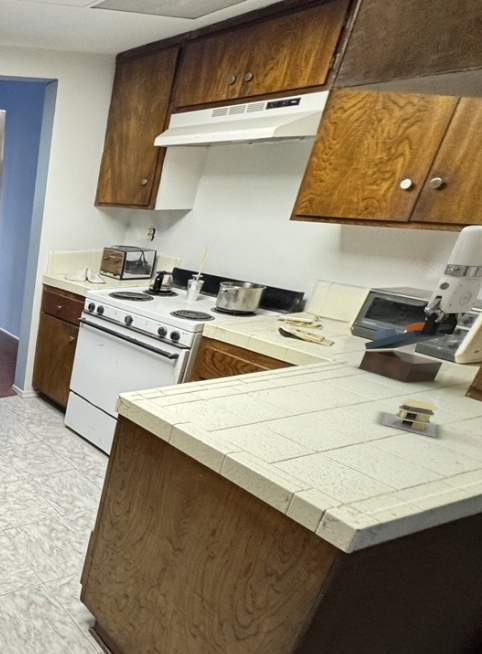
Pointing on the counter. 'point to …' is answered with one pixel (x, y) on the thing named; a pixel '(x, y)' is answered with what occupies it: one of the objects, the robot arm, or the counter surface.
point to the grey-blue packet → (384, 333)
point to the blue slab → (405, 339)
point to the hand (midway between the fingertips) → (436, 333)
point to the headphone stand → (407, 348)
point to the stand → (400, 365)
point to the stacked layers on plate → (413, 417)
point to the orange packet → (415, 326)
